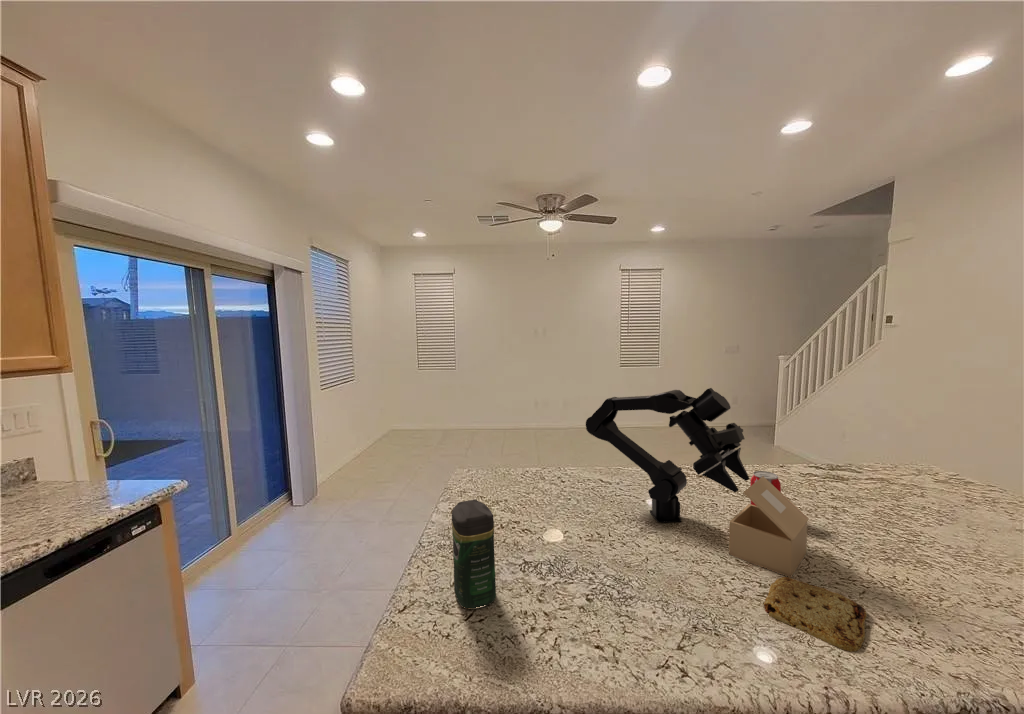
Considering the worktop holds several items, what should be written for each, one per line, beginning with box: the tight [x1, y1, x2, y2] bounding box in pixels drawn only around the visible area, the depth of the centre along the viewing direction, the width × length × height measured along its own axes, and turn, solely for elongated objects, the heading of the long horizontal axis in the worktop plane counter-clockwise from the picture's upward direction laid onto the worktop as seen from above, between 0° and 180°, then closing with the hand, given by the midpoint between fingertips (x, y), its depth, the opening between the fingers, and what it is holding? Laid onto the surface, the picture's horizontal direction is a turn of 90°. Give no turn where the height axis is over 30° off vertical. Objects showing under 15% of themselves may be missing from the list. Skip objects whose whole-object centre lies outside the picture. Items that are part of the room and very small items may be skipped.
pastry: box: [763, 576, 868, 653], centre depth 72 cm, size 17×17×3 cm
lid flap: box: [743, 476, 810, 540], centre depth 89 cm, size 12×12×1 cm
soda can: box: [749, 470, 782, 506], centre depth 108 cm, size 7×7×12 cm
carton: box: [728, 503, 808, 578], centre depth 91 cm, size 12×13×8 cm
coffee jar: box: [451, 499, 497, 609], centre depth 79 cm, size 10×8×19 cm
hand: (742, 485), depth 95 cm, fingers open, 9 cm apart
